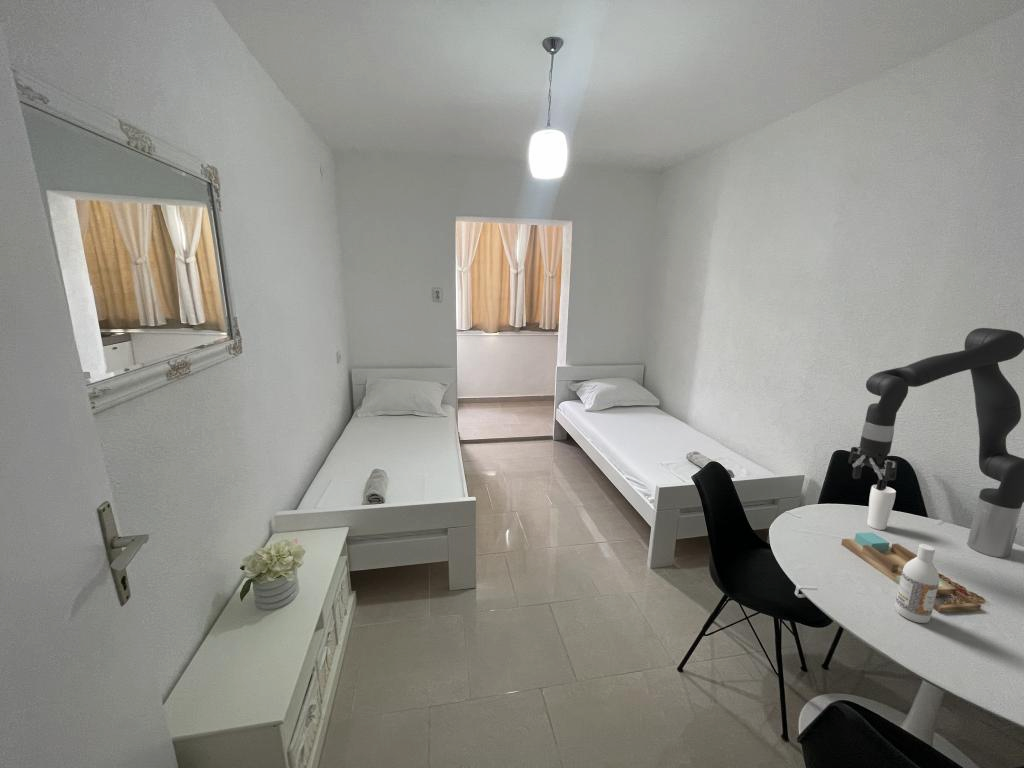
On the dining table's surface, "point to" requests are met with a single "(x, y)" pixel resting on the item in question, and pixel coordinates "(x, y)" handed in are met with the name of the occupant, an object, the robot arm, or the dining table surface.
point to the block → (872, 541)
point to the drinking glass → (880, 507)
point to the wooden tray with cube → (893, 567)
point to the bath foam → (918, 586)
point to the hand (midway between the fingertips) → (867, 484)
